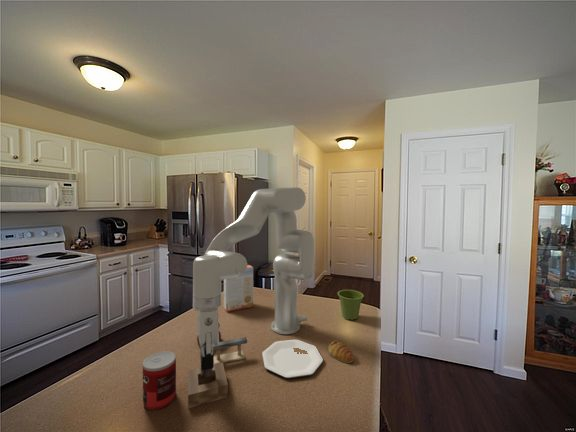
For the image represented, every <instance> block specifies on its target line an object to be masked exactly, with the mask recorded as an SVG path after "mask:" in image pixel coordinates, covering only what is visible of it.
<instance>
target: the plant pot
mask: <svg viewBox="0 0 576 432" xmlns="http://www.w3.org/2000/svg"><path fill="white" fill-rule="evenodd" d="M337 296H338V297H339V301H340V302H339V303H340V304H339V305H340V308H341V309H340V310H341V315H342V318H343V317H344V318H346V319H351V320H350V321H354V320H353V319H357V318H358V319H359V315H360V309H361V303H362V301H363V298H364V297H365V296H364V294H363V293H362V292H360V291H358V290H354V289H342V290H339V291H338V292H337ZM344 318H343V319H344ZM346 319H345V320H346ZM358 319H357V320H358Z"/></svg>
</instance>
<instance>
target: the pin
mask: <svg viewBox="0 0 576 432" xmlns="http://www.w3.org/2000/svg"><path fill="white" fill-rule="evenodd" d="M204 344H206V343H204ZM200 348H201V347H200ZM205 350H206V348H205ZM201 355H202V348H201ZM212 373H213V368H212V369H208V370H203V371H202V370H201V376H202V377H209V376H211V375H212Z"/></svg>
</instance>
